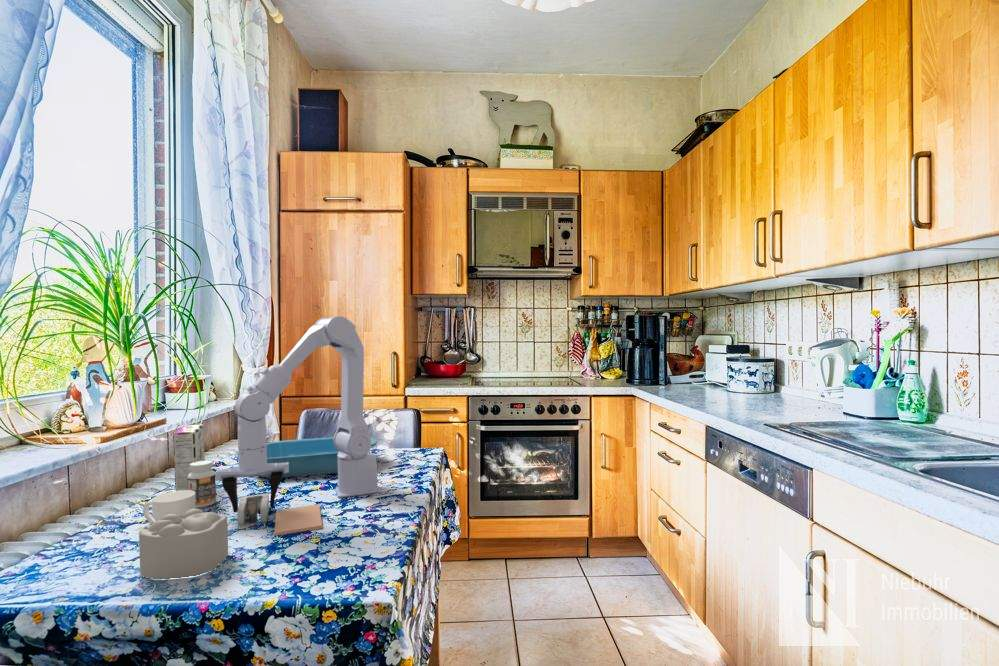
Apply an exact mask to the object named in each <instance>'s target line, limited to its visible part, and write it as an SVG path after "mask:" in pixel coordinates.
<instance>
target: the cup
mask: <svg viewBox="0 0 999 666" xmlns="http://www.w3.org/2000/svg"><path fill="white" fill-rule="evenodd" d="M195 504H196V493H195V491H192V490H179V491H176V490H173V491H168V492H165V493H161V494H160V493H159V494H158V495H156V496H153V497H152V498H151V500H148V501H146V502H145V503H144V505H143V506H142V515H143V517H144V518H145V519H146V521H148V522H149V523H152V522H156V521H158V520H159V519H161V518H162V517H163V516H165V515H168V514H177V515H183V514H184V513H185V512H187V511H189V510H191V509H196V508H195ZM150 506H151V513H152V515H151V514H150V511H149V508H150Z"/></svg>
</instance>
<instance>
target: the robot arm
mask: <svg viewBox="0 0 999 666" xmlns="http://www.w3.org/2000/svg"><path fill="white" fill-rule="evenodd" d="M356 329H357V328H356V324H354V323H353V322H352V321H350V320H349V319H348V318H347V317H345V316H341V315H339V316H338V315H337V316H334V317H326V316H325V317H321V318H319V319H318V320H317V321H316V322H315V324H313V325H312V326H311V327H309V328H308V330H307V331H306V332H305V333H304V334H303V336H302V337H301V338H300V340H298V342H297V343H296V344H295V346H294V347H293V348H291V350H290V351H289V352H288V353H287V355H286V356H285V358H284V359H283V360H282V361H280V363H279V364H278V365H277V364H273V365H271V366H269V367H268V368H267V367H265V368H263V369H262V370H261V374H262V375H261V376H260V377H259V378H258V379H257V380H256V381H255V382H254V383H253V385H251V386H250V385H249V386H248V387H246V389H245V390H246V391H247V392H245V393H242V394H240V396H238V397H237V398H236V400H235V404H234V405H233V410H234V411H233V412H235V414H236V415H237V449H238V451H237V453H238V457H237V459H238V466H234V467H229V468H223V469H222V468H221V469H216V470H215V471H214V472H215V479H216V480H215V481H216V482H218V481H219V482H220V481H222V482H221V485H222V488H223V489H224V491H225V492H226V494H227V496H228V498H229V501H230V502H231V506H232V507H231V508H232V510H233V513H237V510H238V507H239V501H238V500H239V499H238V479H239V478H247V477H254V476H259V475H265V474H271V476H270V478H269V480H270V481H269V482H270V483H269V485H270V498H269V508H274V506H275V500H276V496H277V495H276V494H277V491H278V488H279V487H280V483H281V482H282V479H283V477H282V476H283V473H288V472H289V462H285V463H267V443H268V442H267V423H266V421H267V420H266V418H267V417H266V415H268V414H269V412H270V408H271V404H273V402H274V401H275V400H276V399H277V398H278V397H279V396H280V395H281V394H282V392H284V390H286V388H287V387H288V385H289V384H290V383H291V382H292V373H293V372H294V371H296V369H297V368H298V367H299V366H300V365H302V363H303V362H304V361H305V360H306V359H307V358H308V357H309V356H311V354H312V353H313V352H314V351H315V350H316V349H319V348H323V347H326V346H331V347H332V348H333V349H335V350H336V351H337V352H338V353H339V354H340V355H341V388H340V390H341V393H340V394H341V395H340V396H341V398H340V419H339V420H338V422H337V424H336V431H335V433H334V436H333V437H334V438H333V444H334V446H335V448H336V449H337V450H338V455H337V457H338V473H337V486H336V487H335V492H336V495H337V498H340V499H341V498H346V497H347V498H348V497H352V496H353V497H354V496H360V495H368V494H376V493H378V491H379V490H378V466H377V465H378V464H377V458H376V457H377V456H376V454H373V453H369V452H370V450H371V448H372V446H371V438H372V437H371V436H370V434H369V426H368V424H367V422H366V420H365V419H364V377H365V375H364V373H365V372H364V370H365V369H364V367H365V366H364V365H365V363H364V361H365V350H364V349H365V347H364V345H363V342H362V341H361V338H360V337H359V335H358V333H357V330H356ZM367 453H368V454H367Z"/></svg>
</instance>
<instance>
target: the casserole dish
mask: <svg viewBox="0 0 999 666" xmlns="http://www.w3.org/2000/svg"><path fill="white" fill-rule="evenodd" d="M333 438H334V436H332V437H330V436H329V437H320V438H319V437H315V438H314V437H313V438H301V439H290V440H289V439H287V440H278V441H272V442H271V441H270V442H267V463H285V462H289V472H288V473H283V476H282V478H291V477H290V476H296V477H304V476H303V475H309V476H317V475H316V474H321V475H328V474H329V475H330V474H331V473H332V474H338V457H337V455H338V450H337V449H336V448H335V446H334V444H333ZM370 438H371V447H374V446H375V445H377V443H378V440H377V439H376V438H373V437H370ZM367 454H369V452H368V453H367ZM258 476H259V477H261V478H264V477H266V478H267V479H270V476H271V474H265V475H258Z"/></svg>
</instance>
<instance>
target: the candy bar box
mask: <svg viewBox="0 0 999 666" xmlns="http://www.w3.org/2000/svg"><path fill="white" fill-rule="evenodd" d="M204 436H205V434H204V424H203V423H201V424H190V425H189V424H186V425H183V426H182V427H181V428H179V429H177V430H176V431H175V432H174V433H173V434H172V441H173V445H172V446H173V461H174V480H175V481H174V483H175V484H174V486H175V491H179V490H188V484H187V477H188V475H189V474H190V473H191V470H190V464H191V463H194V462H198V461H206V459H205V457H206V455H205V441H204V439H205V437H204Z"/></svg>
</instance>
